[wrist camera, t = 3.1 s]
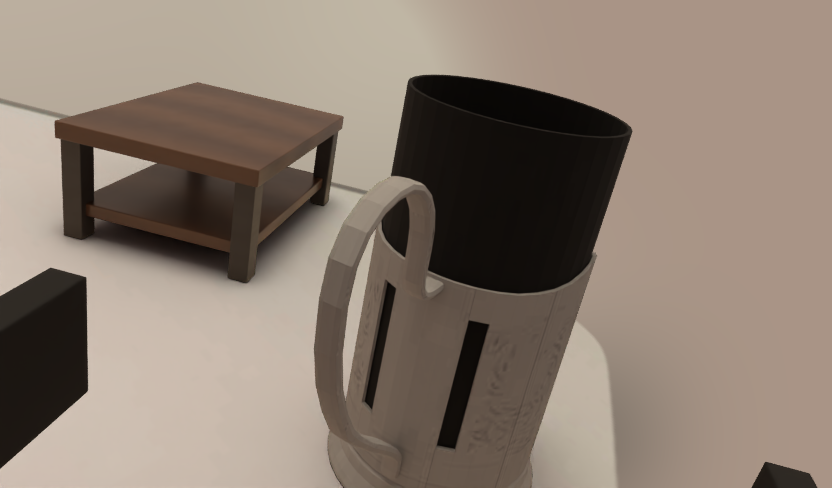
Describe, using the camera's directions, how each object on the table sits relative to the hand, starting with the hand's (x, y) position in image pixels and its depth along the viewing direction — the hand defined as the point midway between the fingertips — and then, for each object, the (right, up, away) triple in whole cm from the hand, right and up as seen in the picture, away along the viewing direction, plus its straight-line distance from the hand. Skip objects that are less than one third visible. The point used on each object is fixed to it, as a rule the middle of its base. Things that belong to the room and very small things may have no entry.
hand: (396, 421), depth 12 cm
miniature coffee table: (-14, +5, +32) cm, 36 cm away
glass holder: (0, -6, +13) cm, 14 cm away
